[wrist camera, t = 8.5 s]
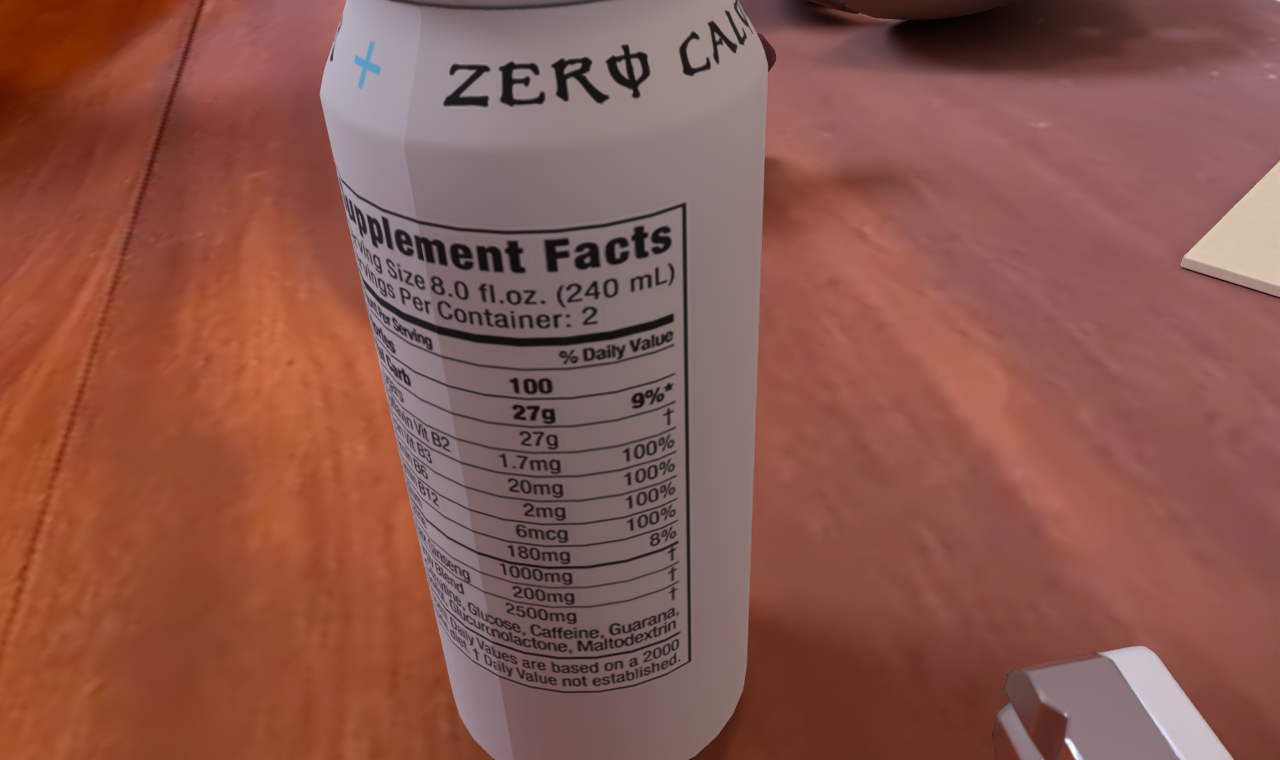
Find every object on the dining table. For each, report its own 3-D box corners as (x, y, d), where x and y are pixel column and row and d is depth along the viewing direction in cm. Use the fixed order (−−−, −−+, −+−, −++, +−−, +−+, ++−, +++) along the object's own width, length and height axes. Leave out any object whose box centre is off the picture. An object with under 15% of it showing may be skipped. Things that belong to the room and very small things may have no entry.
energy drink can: (790, 638, 23) (843, -102, 14) (661, 874, 19) (620, 28, 10) (558, 549, 25) (480, -128, 17) (398, 740, 21) (180, -33, 12)
